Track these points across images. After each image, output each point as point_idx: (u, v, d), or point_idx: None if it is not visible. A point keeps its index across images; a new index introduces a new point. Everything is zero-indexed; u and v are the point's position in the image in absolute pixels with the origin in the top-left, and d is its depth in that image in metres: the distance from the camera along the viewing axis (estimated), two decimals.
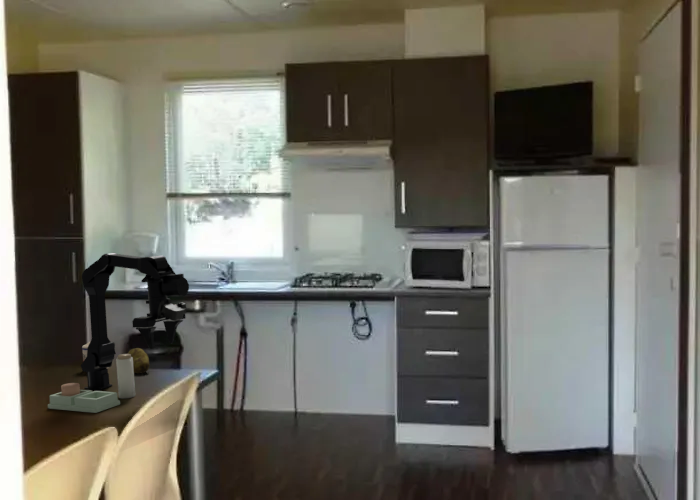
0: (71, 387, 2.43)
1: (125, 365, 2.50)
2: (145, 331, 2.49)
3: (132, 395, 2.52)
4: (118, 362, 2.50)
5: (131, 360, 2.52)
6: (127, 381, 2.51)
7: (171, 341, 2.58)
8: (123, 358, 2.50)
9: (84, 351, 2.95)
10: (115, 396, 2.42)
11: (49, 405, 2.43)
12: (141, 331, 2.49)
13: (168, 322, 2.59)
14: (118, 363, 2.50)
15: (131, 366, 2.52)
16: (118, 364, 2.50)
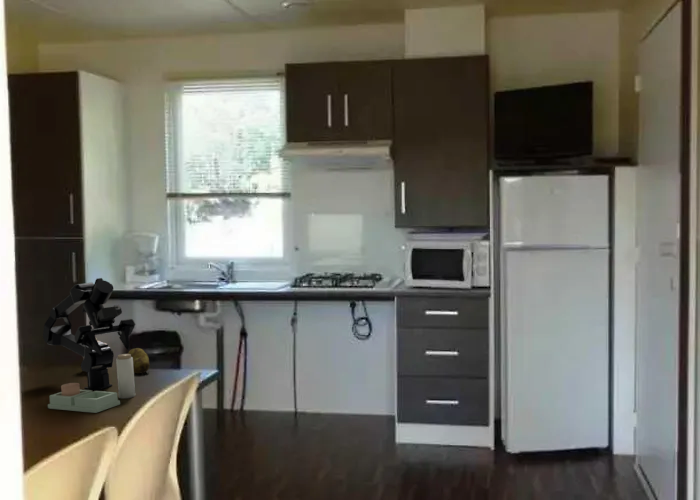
0: (71, 387, 2.43)
1: (125, 365, 2.50)
2: (90, 342, 2.56)
3: (132, 395, 2.52)
4: (118, 362, 2.50)
5: (131, 360, 2.52)
6: (127, 381, 2.51)
7: (127, 346, 2.60)
8: (123, 358, 2.50)
9: None
10: (115, 396, 2.42)
11: (49, 405, 2.43)
12: (87, 344, 2.56)
13: (121, 334, 2.64)
14: (118, 363, 2.50)
15: (131, 366, 2.52)
16: (118, 364, 2.50)
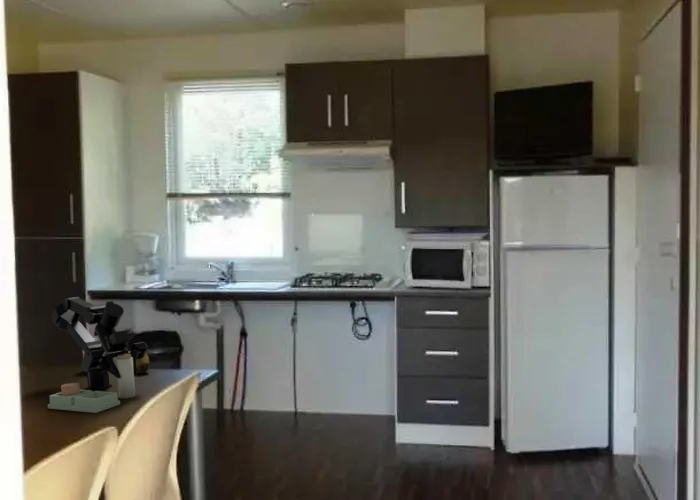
0: (71, 387, 2.43)
1: (125, 365, 2.50)
2: (108, 365, 2.52)
3: (132, 395, 2.52)
4: (118, 362, 2.50)
5: (131, 360, 2.52)
6: (127, 381, 2.51)
7: (134, 372, 2.54)
8: (123, 358, 2.50)
9: None
10: (115, 396, 2.42)
11: (49, 405, 2.43)
12: (105, 368, 2.52)
13: None
14: (118, 363, 2.50)
15: (131, 366, 2.52)
16: (118, 364, 2.50)
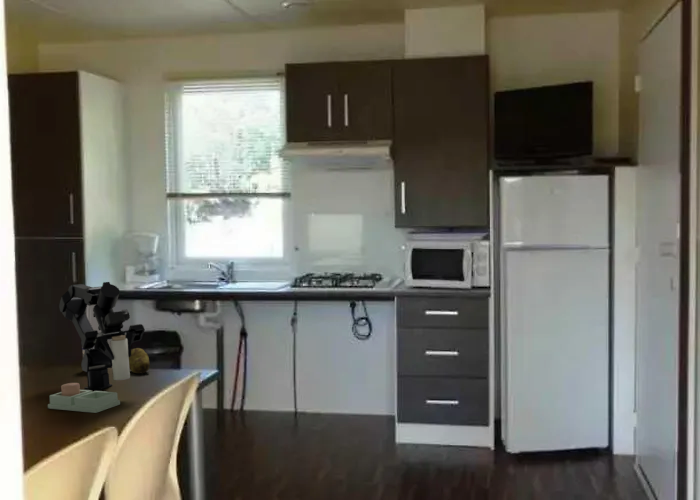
0: (71, 387, 2.43)
1: (119, 346, 2.47)
2: (103, 347, 2.50)
3: (126, 377, 2.48)
4: (112, 343, 2.47)
5: (125, 341, 2.48)
6: (121, 362, 2.47)
7: (129, 354, 2.50)
8: (117, 339, 2.47)
9: (84, 351, 2.95)
10: (115, 396, 2.42)
11: (49, 405, 2.43)
12: (100, 349, 2.50)
13: None
14: (112, 344, 2.47)
15: (125, 348, 2.48)
16: (112, 345, 2.48)
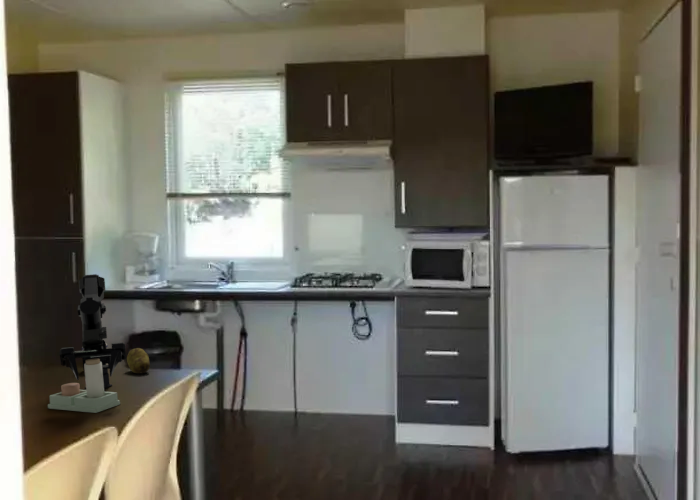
0: (71, 387, 2.43)
1: (90, 371, 2.37)
2: None
3: None
4: (84, 367, 2.38)
5: (97, 366, 2.38)
6: (92, 388, 2.38)
7: (110, 373, 2.40)
8: (88, 363, 2.38)
9: None
10: (115, 396, 2.42)
11: (49, 405, 2.43)
12: (71, 367, 2.42)
13: None
14: (84, 368, 2.39)
15: (97, 372, 2.38)
16: (84, 369, 2.39)
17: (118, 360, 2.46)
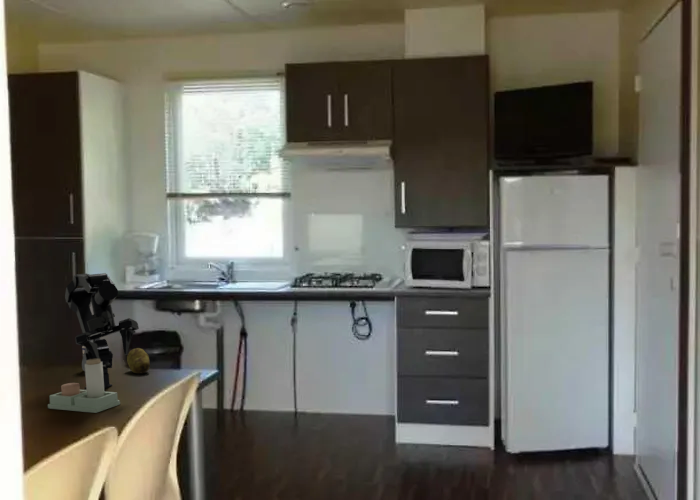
0: (71, 387, 2.43)
1: (90, 370, 2.38)
2: None
3: None
4: (85, 367, 2.39)
5: (98, 366, 2.39)
6: (92, 388, 2.38)
7: None
8: (89, 363, 2.38)
9: (84, 351, 2.95)
10: (115, 396, 2.42)
11: (49, 405, 2.43)
12: None
13: None
14: (85, 368, 2.39)
15: (97, 372, 2.38)
16: (85, 369, 2.39)
17: (131, 333, 2.55)
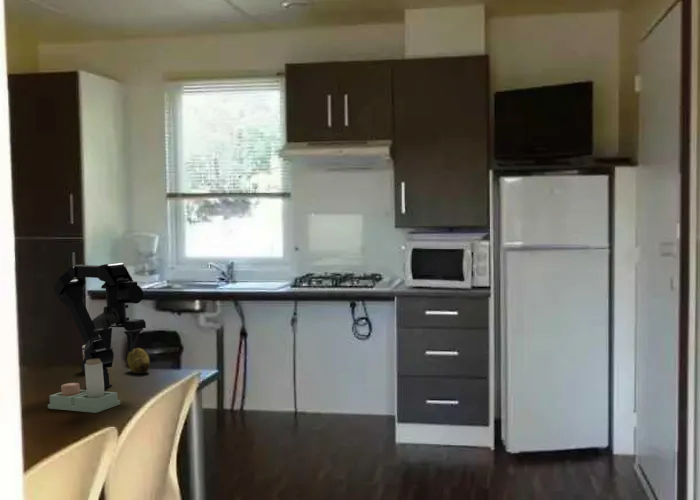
0: (71, 387, 2.43)
1: (90, 370, 2.38)
2: None
3: None
4: (85, 367, 2.39)
5: (98, 366, 2.38)
6: (92, 388, 2.38)
7: None
8: (89, 363, 2.38)
9: None
10: (115, 396, 2.42)
11: (49, 405, 2.43)
12: None
13: None
14: (85, 368, 2.39)
15: (97, 372, 2.38)
16: (85, 369, 2.39)
17: (139, 330, 2.58)
